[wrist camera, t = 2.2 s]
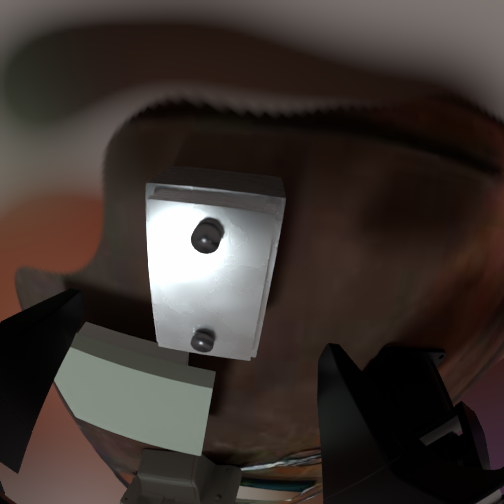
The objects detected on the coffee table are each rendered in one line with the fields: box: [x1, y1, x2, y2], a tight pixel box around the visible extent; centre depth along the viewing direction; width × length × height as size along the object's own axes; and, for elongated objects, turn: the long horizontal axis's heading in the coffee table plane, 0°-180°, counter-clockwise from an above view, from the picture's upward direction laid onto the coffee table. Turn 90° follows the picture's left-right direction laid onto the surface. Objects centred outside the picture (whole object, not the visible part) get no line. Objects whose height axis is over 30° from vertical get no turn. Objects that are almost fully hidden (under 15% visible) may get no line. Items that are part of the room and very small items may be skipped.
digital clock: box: [120, 449, 242, 504], centre depth 25 cm, size 16×9×11 cm, turn 97°
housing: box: [146, 166, 286, 361], centre depth 12 cm, size 5×8×4 cm, turn 173°
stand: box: [54, 322, 216, 456], centre depth 18 cm, size 12×12×4 cm
